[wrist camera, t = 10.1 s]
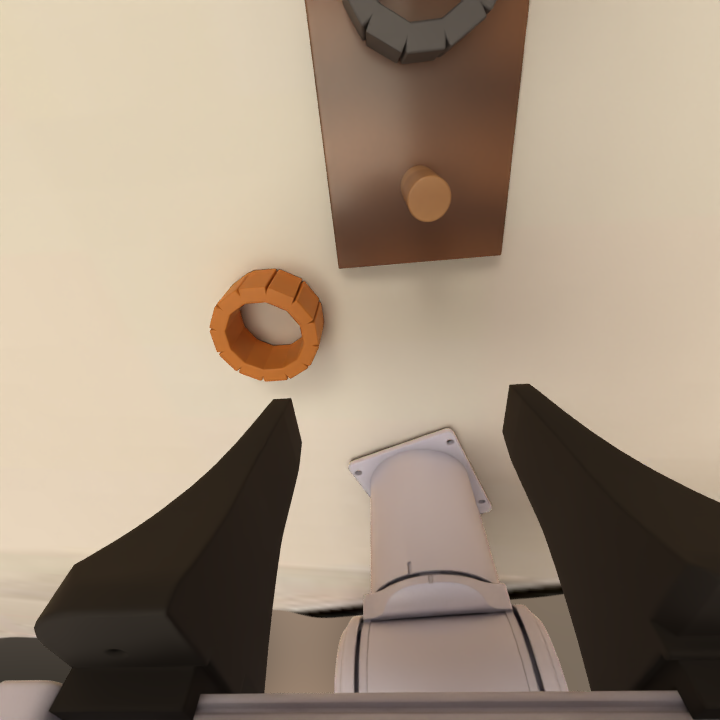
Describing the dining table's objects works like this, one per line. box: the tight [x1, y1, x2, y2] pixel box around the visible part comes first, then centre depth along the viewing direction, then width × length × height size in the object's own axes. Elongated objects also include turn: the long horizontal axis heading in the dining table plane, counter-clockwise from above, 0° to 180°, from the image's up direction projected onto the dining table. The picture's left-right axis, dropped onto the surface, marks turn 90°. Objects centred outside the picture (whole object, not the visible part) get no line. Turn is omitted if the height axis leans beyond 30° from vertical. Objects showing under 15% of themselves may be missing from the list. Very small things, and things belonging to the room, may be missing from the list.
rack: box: [305, 0, 529, 269], centre depth 14 cm, size 14×8×4 cm, turn 5°
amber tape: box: [210, 269, 324, 381], centre depth 20 cm, size 5×5×3 cm
